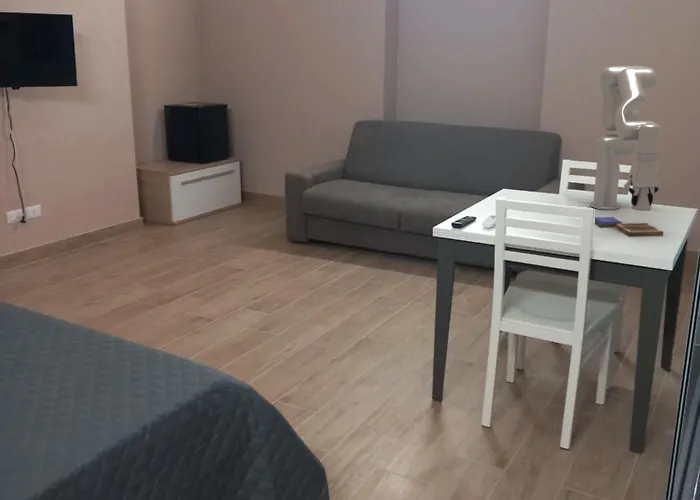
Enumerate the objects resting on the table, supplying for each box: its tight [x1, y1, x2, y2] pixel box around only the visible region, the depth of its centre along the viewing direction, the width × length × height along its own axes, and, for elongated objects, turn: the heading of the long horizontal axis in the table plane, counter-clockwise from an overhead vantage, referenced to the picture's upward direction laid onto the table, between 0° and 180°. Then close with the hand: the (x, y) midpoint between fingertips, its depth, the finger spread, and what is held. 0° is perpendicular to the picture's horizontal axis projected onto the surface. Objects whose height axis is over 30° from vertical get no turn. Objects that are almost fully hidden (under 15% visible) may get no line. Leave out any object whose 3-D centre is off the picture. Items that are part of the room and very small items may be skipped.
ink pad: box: [594, 216, 623, 229], centre depth 284 cm, size 9×9×2 cm
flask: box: [630, 188, 652, 212], centre depth 270 cm, size 7×7×10 cm
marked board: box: [614, 222, 664, 238], centre depth 274 cm, size 13×13×2 cm
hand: (641, 204), depth 271 cm, fingers closed on flask, 4 cm apart
